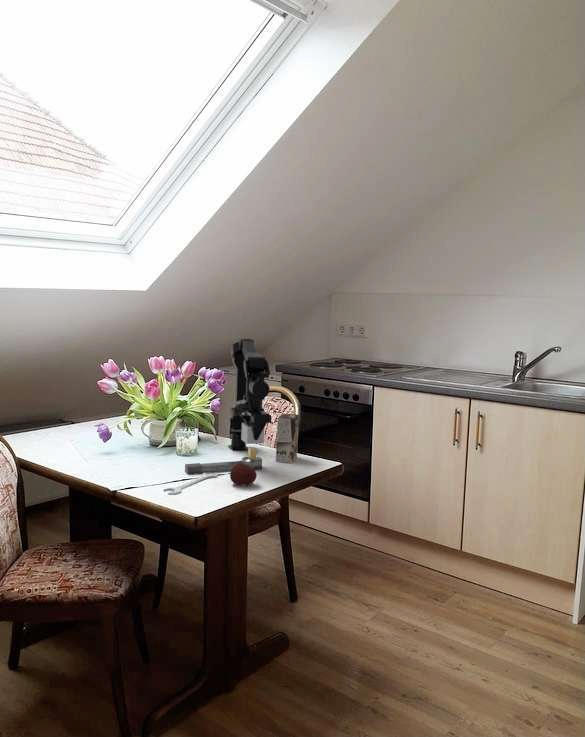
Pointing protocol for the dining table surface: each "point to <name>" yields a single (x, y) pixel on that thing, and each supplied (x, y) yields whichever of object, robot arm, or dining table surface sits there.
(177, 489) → the wrench
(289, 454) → the coffee box
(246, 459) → the ratchet
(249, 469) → the potato
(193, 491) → the dining table surface
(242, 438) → the socket
